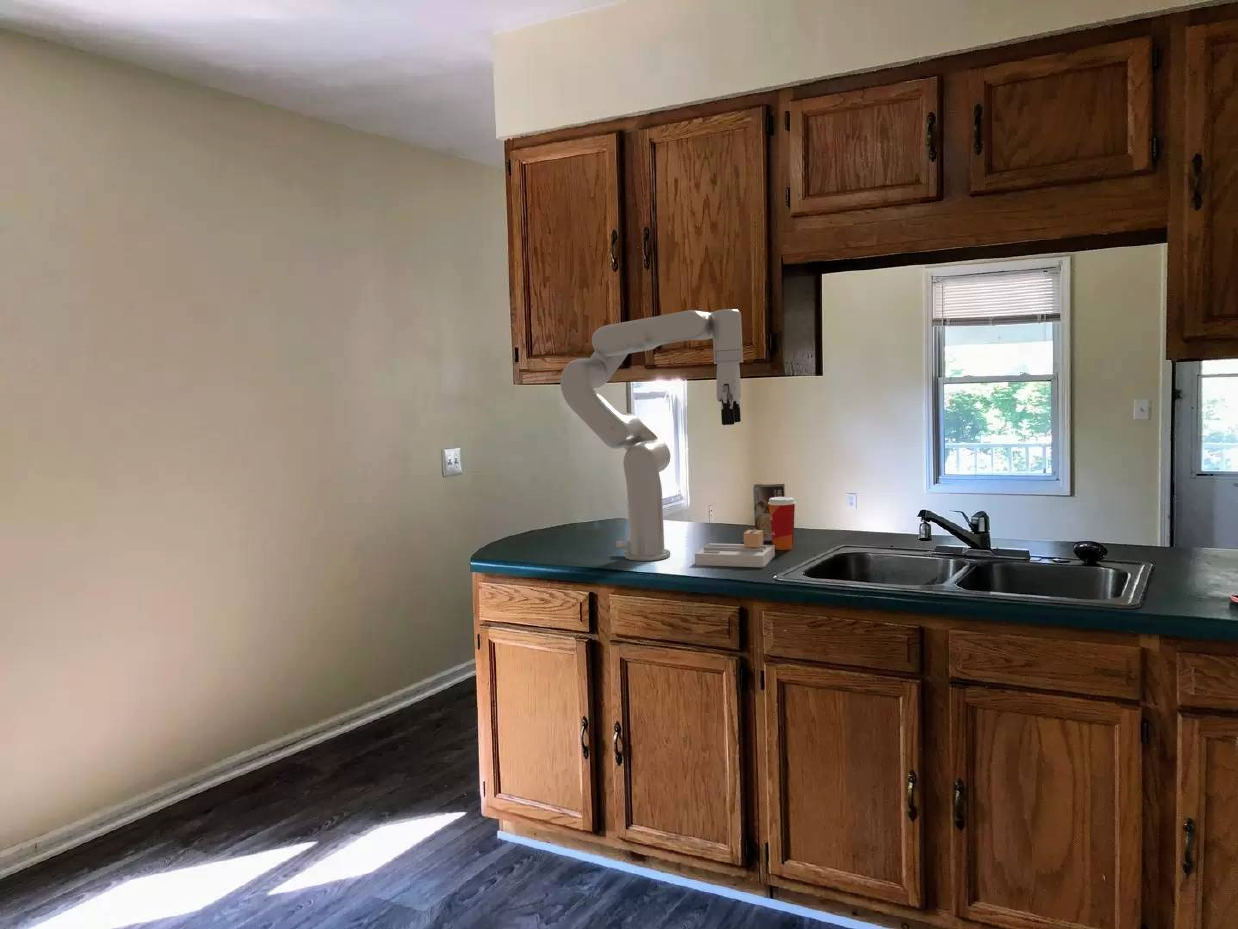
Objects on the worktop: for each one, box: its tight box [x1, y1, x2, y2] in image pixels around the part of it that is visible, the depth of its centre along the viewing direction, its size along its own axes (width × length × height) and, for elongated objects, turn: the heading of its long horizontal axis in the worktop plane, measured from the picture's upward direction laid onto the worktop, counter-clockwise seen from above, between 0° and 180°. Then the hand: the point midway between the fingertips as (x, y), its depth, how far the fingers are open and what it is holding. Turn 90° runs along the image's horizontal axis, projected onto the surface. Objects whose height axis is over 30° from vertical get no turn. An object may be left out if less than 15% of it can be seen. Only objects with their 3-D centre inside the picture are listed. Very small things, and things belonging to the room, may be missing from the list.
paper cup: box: [768, 496, 797, 551], centre depth 257 cm, size 8×8×14 cm
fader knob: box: [743, 528, 764, 548], centre depth 242 cm, size 4×5×5 cm
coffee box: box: [752, 483, 786, 542], centre depth 272 cm, size 9×6×16 cm
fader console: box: [694, 542, 776, 568], centre depth 244 cm, size 18×14×4 cm
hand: (731, 423), depth 242 cm, fingers open, 9 cm apart
